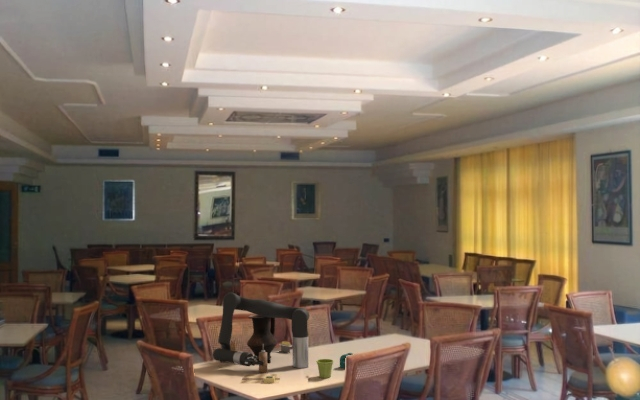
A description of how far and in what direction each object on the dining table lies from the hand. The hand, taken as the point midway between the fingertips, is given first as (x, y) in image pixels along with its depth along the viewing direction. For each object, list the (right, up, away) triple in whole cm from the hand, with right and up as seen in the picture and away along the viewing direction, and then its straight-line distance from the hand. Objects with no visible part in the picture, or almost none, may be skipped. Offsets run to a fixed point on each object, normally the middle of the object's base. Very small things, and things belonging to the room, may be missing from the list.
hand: (266, 362), depth 352 cm
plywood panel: (-2, -7, -12) cm, 14 cm away
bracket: (+50, -8, +15) cm, 52 cm away
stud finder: (+3, -6, -17) cm, 18 cm away
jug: (-5, -8, +40) cm, 41 cm away
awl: (-2, -7, +1) cm, 7 cm away
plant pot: (+32, -7, -4) cm, 33 cm away
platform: (+8, -9, +59) cm, 60 cm away
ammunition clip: (-26, -8, +34) cm, 44 cm away
